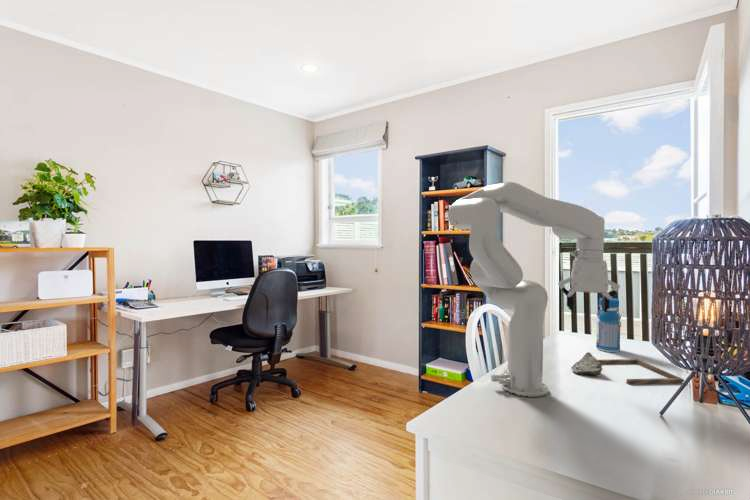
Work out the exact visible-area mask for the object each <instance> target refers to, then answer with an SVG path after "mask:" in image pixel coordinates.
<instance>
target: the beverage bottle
mask: <svg viewBox="0 0 750 500" xmlns="http://www.w3.org/2000/svg"><path fill="white" fill-rule="evenodd" d="M602 298H603V297H599V299H598V307H600V308H599V310H598V311H597V313H596V317H597V318H596V321H595V324H596V343H595V346H596V349H597V350H598V351H600V352H601V351H602V352H606V353H619V352H620V351H621V328H622V322H621V320H622V319H621V318H622V315H621V314H620V313H621V312H620V311H619V310H618V309H619V308H620V300H619V299H618V298H614V297H611V299H609V309H607V312H604V311H602Z"/></svg>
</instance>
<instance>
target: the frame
mask: <svg viewBox="0 0 750 500" xmlns="http://www.w3.org/2000/svg"><path fill="white" fill-rule="evenodd" d="M597 360H598V361H599V363H600V364H601V365H622V364H623V365H624V364H625V365H629V364H630V365H631V364H633V365H634V364H636V365H638V366H640V367H643V368H646V369H647V370H649V371H652V372H654V373H657V374H658V375H661V376H663V377H664V378H659V377H658V378H656V377H655V378H626V382H625V383H626V384H627V385H663V384H664V385H665V384H669V385H671V384H683V383H682V382H684V383H685V380H684V378H681V377H679V376H677V375H675V374H672V373H670V372H669V371H665V370H663V369H661V368H659V367H656V366H654V365H652V364H649V363H647V362H644V361H643V360H640V359H638V358H630V359H629V358H627V359H626V358H624V359H621V358H620V359H618V358H617V359H615V358H614V359H597Z"/></svg>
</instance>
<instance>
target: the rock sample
mask: <svg viewBox="0 0 750 500" xmlns="http://www.w3.org/2000/svg"><path fill="white" fill-rule="evenodd" d="M598 360H599V359H597V358H596V357H595V356H593V353H591V352H590V351H587V352H586V353H585V354H584V355H583V356H582V358H580V360H579V361H577V362H575V363H574V364H573V365H572V366H570V368H571V371H572V373H575V374H578V375H591V376H599V375H601V374H602V370H603V367H602V364H600V363H599V361H598Z"/></svg>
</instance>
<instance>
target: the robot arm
mask: <svg viewBox="0 0 750 500" xmlns="http://www.w3.org/2000/svg"><path fill="white" fill-rule="evenodd" d="M501 213H504V214H505V213H506V214H508V215H510V216H513V217H516V218H518V219H520V220H523V221H525V222H526V223H529V224H531V225H534V226H540V227H546V228H551V231H552V232H553V234H554V235H555V237H558V238H560V239H563V240H576V249H575V250H574V251H571V252H570V255H571V256H573V257H575V259H573V261H572V264H571V270H570V277H567V278H565V279H562V280H559V281H558V282H557V283H558V284H557V285H558V286H559V289H560V290H561V292H563V294H565V296H566V307H567V308H568V310H571V311H573V309H574V297H573V295H574V294H575V293H576V292H578V293H591V294H592V293H596V294H601V295H602V296H603V297H601V298H602V311H604V312H607V309H609V299H611V298H613V297H614V296H615V295H617V292H618V291H619V290H620V288H621V285H619V284H618V283H616V282H614V281H612V280H610V279H609V274H608V273H609V271H608V270H609V269H608V264H607V263H608V262H607V260H604V248H605V247H604V246H605V243H604V242H605V219H604V217H602V216H600V215H598V213H596V212H594V211H592V210H591V209H588V208H586V207H584V206H582V205H578V204H574V203H570V202H567V201H562V200H560V199H559V200H558V199H554V198H550V197H546V196H544V195H542V194H540V193H538V192H536V191H534V190H532V189H530V188H528V187H526V186H523V185H521V184H520V183H517V182H514V181H505V182H499V183H493V184H489V185H486V186H483V187H482V188H479V189H478V190H476V191H473V192H472V193H469V194H468V195H465V196H463V197H461V198H459V199H457V200H456V201H455V202H453V203H452V204H451V205H450V207H449V209H448V211H447V217H448V219H447V220H448V221H449V223H450V225H451V226H452V227H453V228H455V229H457V230H464V231H465V230H466V231H467V230H470V231H469V238H468V239H469V241H468V250H469V254H470V255H471V257H472V259H473V260H471V263H470V265H469V266H470V268H469V272H470V273H469V274H470V276H471V279H472V281H473V282H474V284H475V285H476V286H477V287H478V289H480V290H481V291H482V293H483V294H484V295H485V296H486V297H487V298H488V300H490V301H491V302H492V304H494V305H495V306H497V307H498V308H501V309H504V310H508V311H512V312H513V315H512V317H511V318H510V321H509V323H508V327H507V370H504V371H503V373H501V374H491V375H490V380H491V382H492V383H495V382H498V384H499V385H501V387H502V386H503V387H502V389H503V388H505V389H506V390H507V391H509V392H508V393H510V392H511V393H510V394H512V393H515V394H517V395H516V396H520V395H522V396H521V397H526V396H528V398H535V397H537V398H538V397H539V398H540V397H543V396H546V395H547V394H548V393H549V387H548V386H547V384H545V383H543V374H544V373H543V370H544V369H543V367H544V366H543V362H544V361H543V360H544V321H545V314H546V310H547V306H548V300H549V299H548V298H549V296H548V292H547V290H546V288H545V287H544V286H543V285H542V284H541V283H538V282H536V281H533V280H529V279H523V278H524V272H523V269H522V267H521V266H520V264H519V262H518V261H517V260H516V259H515V258H514V257H513V255H512V254H511V253H510V251H509V250H508V249H507V248H506V247H505V246H504V244H503V242H502V241H501V239H500V236H499V226H500V221H501ZM566 284H569V287H570V288H569V290H567V289H566V287H565V285H566ZM609 286H611V287H612V289H611V290H610V291H609ZM506 390H505V391H506ZM507 391H506V392H507ZM515 394H514V395H515Z"/></svg>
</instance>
